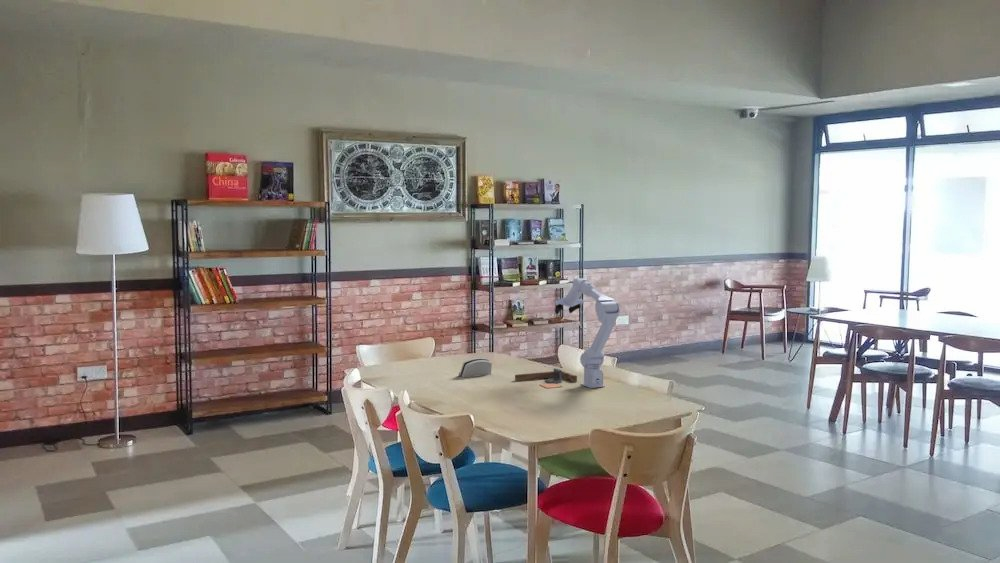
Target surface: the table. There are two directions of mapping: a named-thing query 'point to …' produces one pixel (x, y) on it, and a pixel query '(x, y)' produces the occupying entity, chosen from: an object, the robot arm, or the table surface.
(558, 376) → the bracket
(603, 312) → the robot arm
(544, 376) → the brown wooden l-shape
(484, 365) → the grey curved-top block
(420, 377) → the table surface
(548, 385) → the pad
